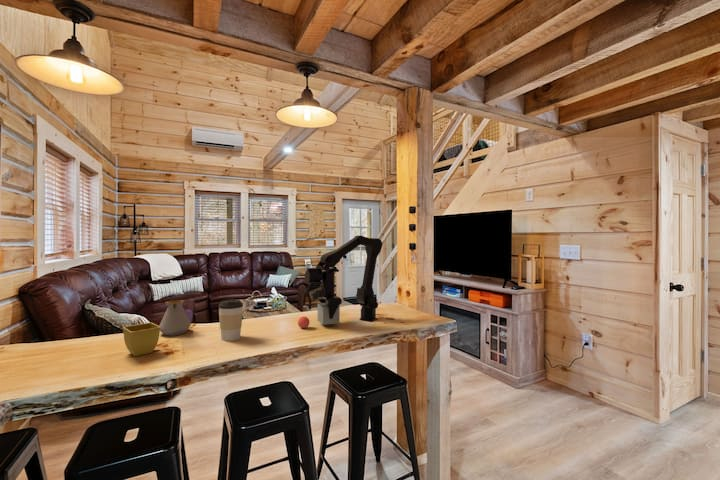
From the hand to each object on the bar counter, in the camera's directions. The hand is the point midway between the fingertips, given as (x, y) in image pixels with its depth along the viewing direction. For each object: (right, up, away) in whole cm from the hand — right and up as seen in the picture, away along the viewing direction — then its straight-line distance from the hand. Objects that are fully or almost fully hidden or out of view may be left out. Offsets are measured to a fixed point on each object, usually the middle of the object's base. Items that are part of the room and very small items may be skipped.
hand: (327, 316), depth 148 cm
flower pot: (-60, -4, -36) cm, 70 cm away
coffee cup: (-36, -4, -19) cm, 41 cm away
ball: (-10, -1, -5) cm, 11 cm away
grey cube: (0, -2, 0) cm, 2 cm away
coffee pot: (-59, -4, -18) cm, 62 cm away
